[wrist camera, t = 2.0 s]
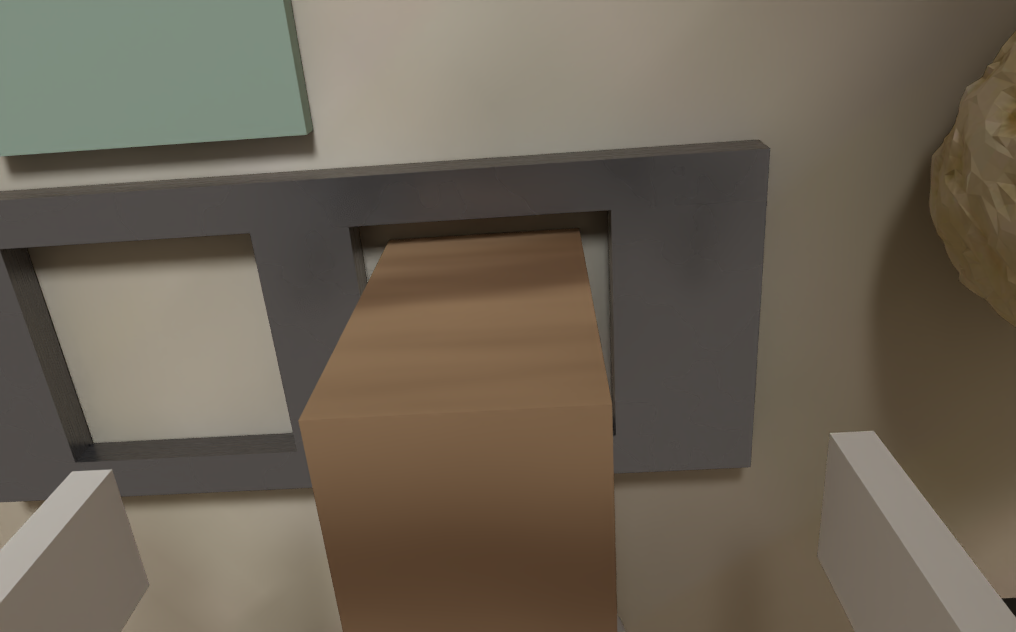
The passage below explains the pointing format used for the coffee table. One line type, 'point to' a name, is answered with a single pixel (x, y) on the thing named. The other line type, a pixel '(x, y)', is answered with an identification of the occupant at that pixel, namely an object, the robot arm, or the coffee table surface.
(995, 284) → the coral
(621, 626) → the game controller
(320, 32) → the coffee table surface
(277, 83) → the felt pad
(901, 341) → the coffee table surface
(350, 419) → the walnut block
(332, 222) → the grey slotted board
